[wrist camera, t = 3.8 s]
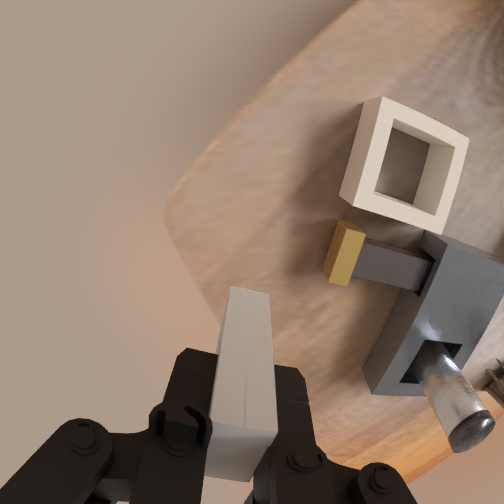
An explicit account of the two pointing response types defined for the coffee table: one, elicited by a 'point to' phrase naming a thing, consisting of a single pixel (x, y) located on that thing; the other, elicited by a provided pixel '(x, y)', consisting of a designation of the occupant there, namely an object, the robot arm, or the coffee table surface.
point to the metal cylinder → (451, 397)
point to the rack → (433, 176)
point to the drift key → (373, 260)
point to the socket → (437, 314)
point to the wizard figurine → (496, 386)
